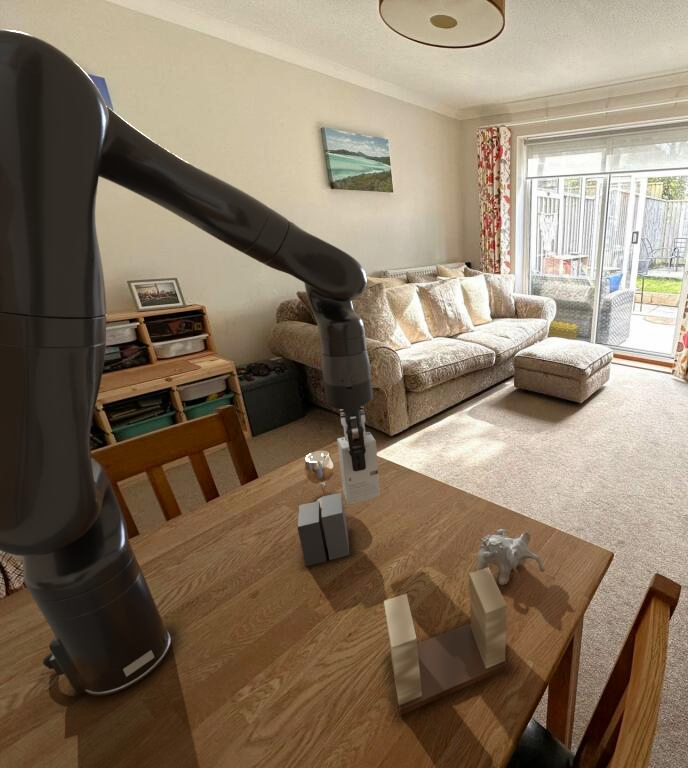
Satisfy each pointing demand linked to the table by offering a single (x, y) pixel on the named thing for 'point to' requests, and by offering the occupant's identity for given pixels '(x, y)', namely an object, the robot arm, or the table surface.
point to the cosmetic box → (359, 472)
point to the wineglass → (319, 469)
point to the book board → (447, 647)
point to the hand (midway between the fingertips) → (358, 461)
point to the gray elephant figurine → (505, 553)
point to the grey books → (323, 530)
